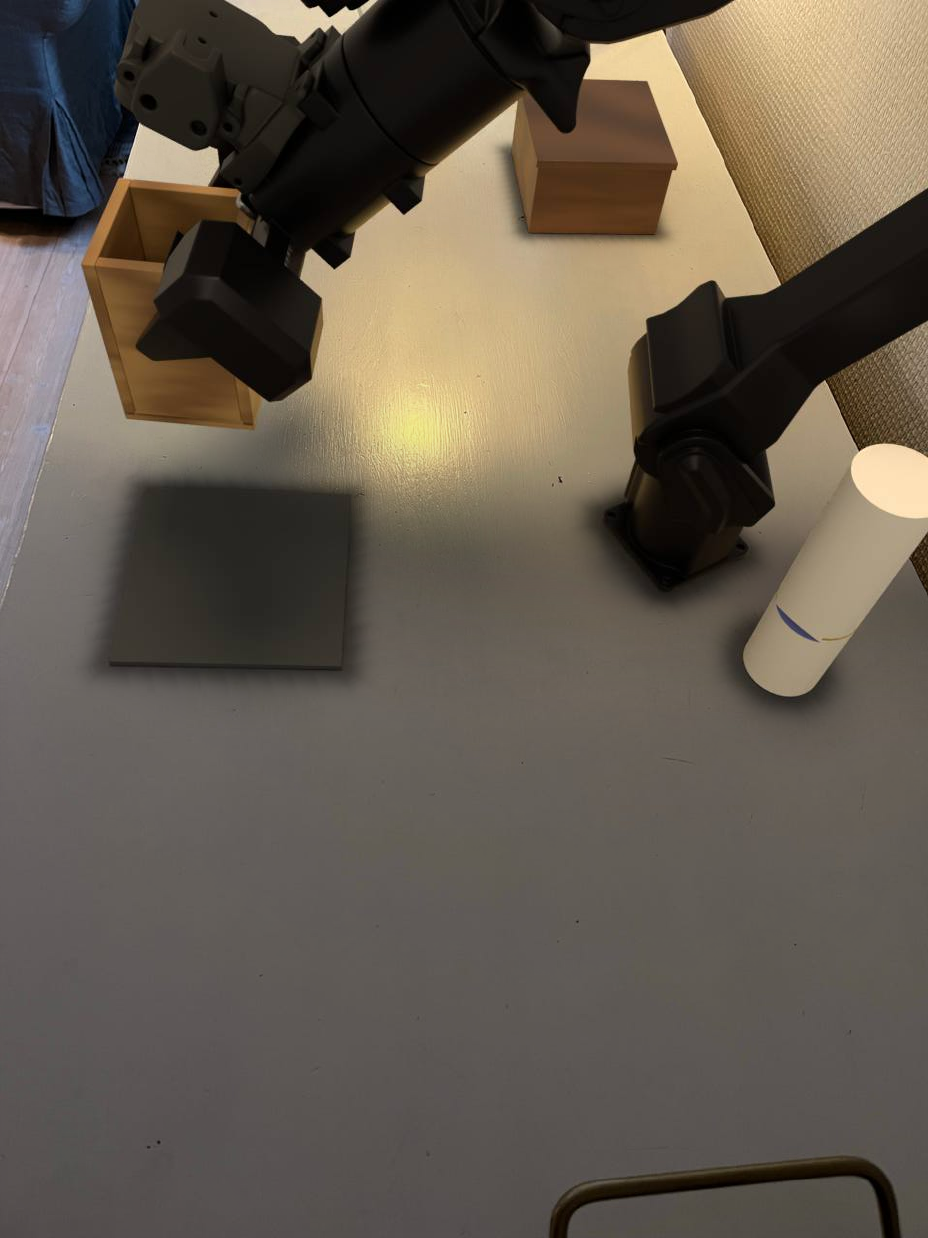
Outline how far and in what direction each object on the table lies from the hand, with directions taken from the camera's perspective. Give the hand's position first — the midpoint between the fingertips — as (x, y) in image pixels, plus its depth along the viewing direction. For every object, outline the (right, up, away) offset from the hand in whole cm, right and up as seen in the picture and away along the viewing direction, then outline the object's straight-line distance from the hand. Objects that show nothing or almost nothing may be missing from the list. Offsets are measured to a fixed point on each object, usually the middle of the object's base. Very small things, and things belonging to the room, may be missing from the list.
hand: (161, 304), depth 47 cm
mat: (+2, -13, +8) cm, 15 cm away
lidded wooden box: (+24, +19, +32) cm, 44 cm away
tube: (+32, -18, +8) cm, 37 cm away
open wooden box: (+1, -3, +4) cm, 5 cm away
